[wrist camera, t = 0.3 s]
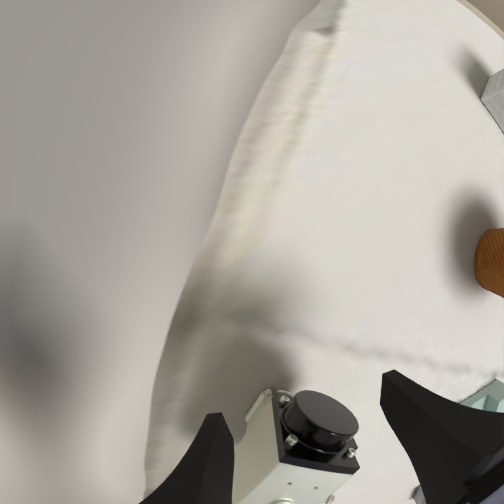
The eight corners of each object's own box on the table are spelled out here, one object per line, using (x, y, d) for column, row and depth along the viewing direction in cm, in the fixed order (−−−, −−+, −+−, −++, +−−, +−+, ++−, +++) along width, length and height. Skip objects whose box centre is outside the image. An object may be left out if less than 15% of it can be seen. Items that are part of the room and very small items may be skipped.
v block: (485, 416, 22) (500, 429, 18) (434, 448, 22) (448, 464, 18) (496, 379, 21) (514, 390, 17) (444, 411, 21) (461, 428, 18)
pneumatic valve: (219, 440, 21) (204, 540, 9) (279, 345, 21) (305, 451, 9) (270, 456, 22) (279, 551, 10) (336, 368, 21) (395, 464, 9)
